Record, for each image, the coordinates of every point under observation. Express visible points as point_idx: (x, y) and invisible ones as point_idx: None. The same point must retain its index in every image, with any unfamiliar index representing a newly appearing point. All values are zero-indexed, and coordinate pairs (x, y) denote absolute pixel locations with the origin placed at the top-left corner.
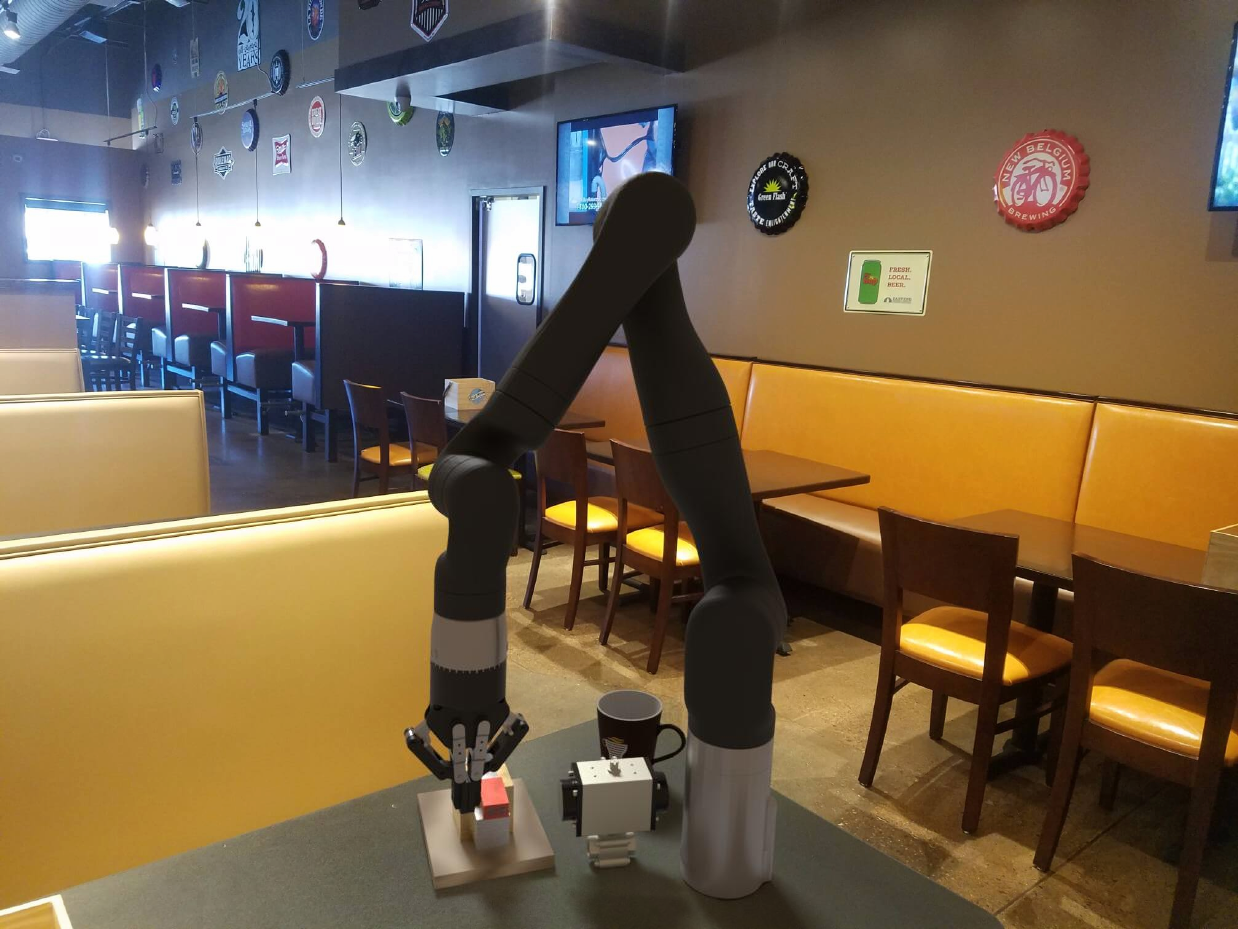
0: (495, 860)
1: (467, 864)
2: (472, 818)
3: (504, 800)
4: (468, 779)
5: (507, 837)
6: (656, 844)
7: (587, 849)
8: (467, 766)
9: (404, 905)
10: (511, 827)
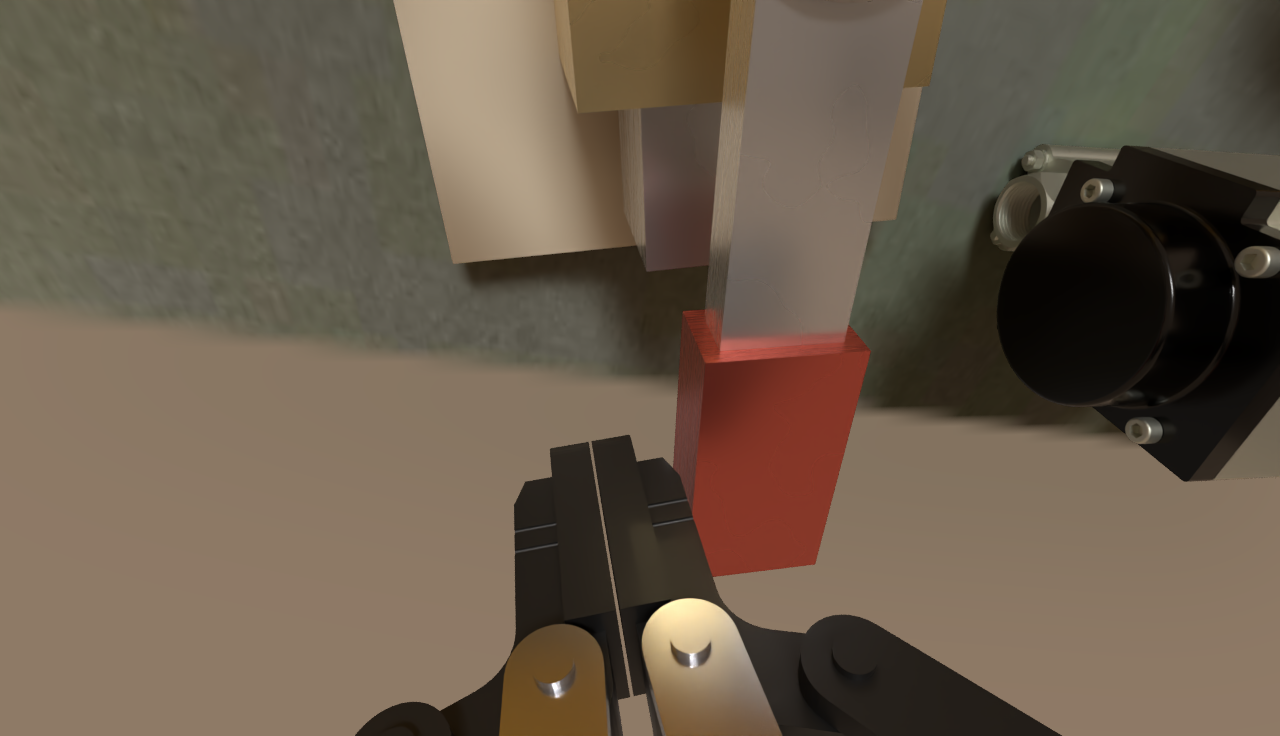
0: None
1: (580, 217)
2: (630, 125)
3: (800, 552)
4: (634, 680)
5: None
6: (1227, 149)
7: (1014, 187)
8: (646, 676)
9: (359, 297)
10: None
